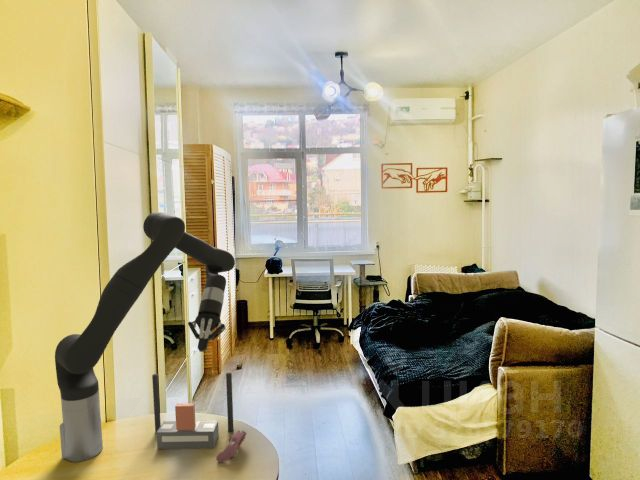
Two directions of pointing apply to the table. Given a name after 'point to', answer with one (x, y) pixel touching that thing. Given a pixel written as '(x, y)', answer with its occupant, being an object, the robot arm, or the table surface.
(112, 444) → the table surface
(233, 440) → the video game controller
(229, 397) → the cord posts
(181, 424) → the block
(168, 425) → the breaker block
